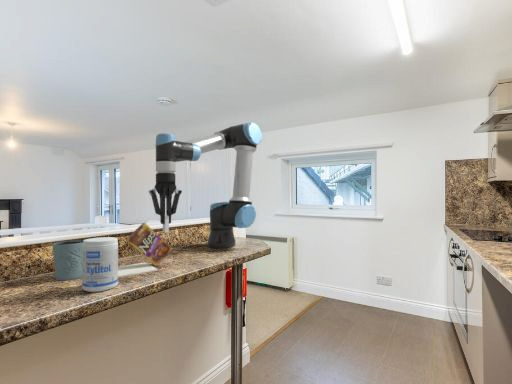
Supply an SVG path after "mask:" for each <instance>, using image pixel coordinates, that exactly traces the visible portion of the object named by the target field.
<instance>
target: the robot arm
mask: <svg viewBox="0 0 512 384" xmlns="http://www.w3.org/2000/svg"><path fill="white" fill-rule="evenodd" d="M262 140H263V133H262V130H261V129H260V126H258V124H257V123H255V122H251V121H250V122H244V123H241V124H237V125H233V126H229V127H227V128H224V129H221V130H219V131H215V132H214V133H213V134H211V135H207V136H203V137H200V138H195V139H192V140H188V141H179V140H177V139H176V135H175V134H172V133H165V132H164V133H161V132H160V133H158V134H156V137H155V172H156V173H155V185H154V188H152V189H150V190H148V193H149V195H150V196H151V199H152V200H151V201H152V203H153V207H154V212H155V214H156V215H158V216H159V217H160V221H159V223H160V224H161V225H162V233H170V224H171V223H172V215H174V214H176V213H177V210H178V204H179V201H180V196H181V194H183V191H182V190H181V189H178V187H177V185H176V173H175V172H176V163H179V162H188V161H189V162H196V161H198V160H199V159H200V158H201V156H202V154H206V153H208V152H212V151H215V150H219V151H221V150H225V149H227V150H228V149H234V150H235V151H236V153H235V154H236V155H235V166H234V167H235V168H234V179H233V189H232V190H233V191H232V197H231V198H230V199H229V200H228V201H221V202H214V203H211V204H210V206H209V224H210V225H209V227H210V229H209V230H210V231H209V235H208V238H207V240H206V241H207V243H206V244H207V246H206V247H208V248H211V249H212V248H213V249H216V248H217V249H225V248H226V249H227V248H232V247H235V246H236V245H237V241H236V239H235V238H236V237H235V235H234V232H233V228H238V229H246V228H247V229H248V228H249V227H251V226H252V224H254V222H255V220H256V218H257V211H256V209H255V207H254V206H253V201H252V200H251V199H250V195H251V194H250V193H251V185H252V184H251V181H252V172H253V171H252V169H253V161H254V160H253V157H254V153H255V152H256V151H257V145H260V143H261V142H262ZM173 194H174V196H173ZM157 195H159V201H158V196H157ZM172 198H173V200H172Z"/></svg>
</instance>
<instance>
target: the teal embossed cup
mask: <svg viewBox="0 0 512 384" xmlns="http://www.w3.org/2000/svg"><path fill="white" fill-rule="evenodd" d="M84 240H85V239H83V240H82V239H79V240H78V239H76V240H75V239H74V240H66V241H65V240H64V241H56V242H53V243H52V254H53V259H54V269H55V270H54V274H55V275H54V276H55V280H56V281H60V282H62V281H63V282H66V281H72V280H73V281H74V280H78V279H82V249H83V241H84Z"/></svg>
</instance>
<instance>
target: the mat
mask: <svg viewBox="0 0 512 384" xmlns="http://www.w3.org/2000/svg"><path fill="white" fill-rule="evenodd" d="M158 270H159V269H158V268H157V267H156V266H154V265H151V264H149V263H147V262H146V261H145V262H140V263H134V264H133V263H132V264H126V265H120V266H119V265H118V278H123V277H129V276H135V275H141V274H147V273H151V272H157V271H158Z"/></svg>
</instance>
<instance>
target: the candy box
mask: <svg viewBox="0 0 512 384" xmlns="http://www.w3.org/2000/svg"><path fill="white" fill-rule="evenodd" d="M125 240H126V241H127V242H128V243H129V244H130V245H131V246H132V247H133V248H135V249H136V250H137V251H138V252H139V253H140V254H141V255H142V256H143V257H145V259H147V260H148V261H149V262H150V263H151V264H152V265H153V266H154V267H158V266H159V264H160V263H161V262H162V261H163V260H164V259H165V258H166V257H167V256H168V254H170V252H171V251H172V250H173V248H172V247H171V246H170V245H169V244H168V243H167V242H166V241H164V240H163V238H161V237H160V235H158V233H156V232H155V230H153V229H152V228H151V227H150V226H149V224H147V223H145V222H143V223H141V224H140V225H139V226H138V228H136V229H135V230H134V231H133V232H132V233H131V234H130V235H128V237H127V238H126V239H125Z"/></svg>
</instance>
